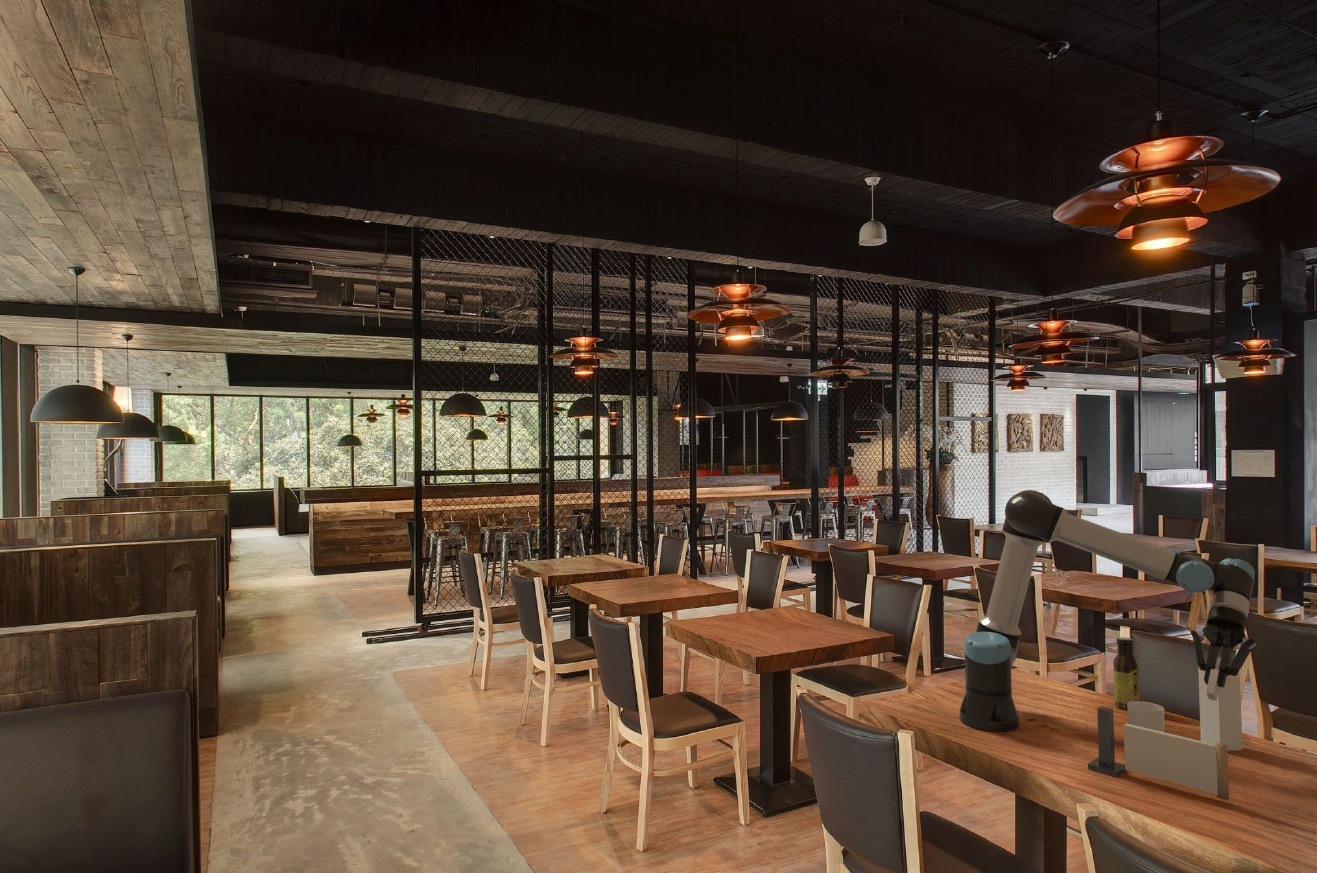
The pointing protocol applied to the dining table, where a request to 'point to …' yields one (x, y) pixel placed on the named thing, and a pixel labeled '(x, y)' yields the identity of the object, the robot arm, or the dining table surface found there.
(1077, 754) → the dining table surface
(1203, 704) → the milk
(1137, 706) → the white cup
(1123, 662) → the sauce bottle
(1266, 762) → the dining table surface
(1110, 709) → the gate post
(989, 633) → the robot arm
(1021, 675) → the dining table surface
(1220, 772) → the gate panel
